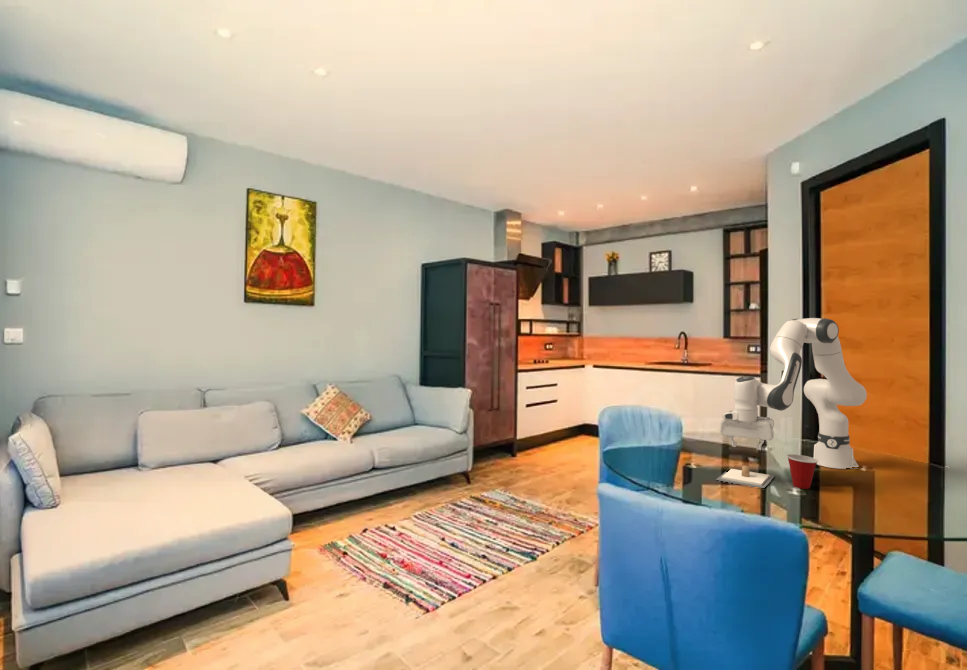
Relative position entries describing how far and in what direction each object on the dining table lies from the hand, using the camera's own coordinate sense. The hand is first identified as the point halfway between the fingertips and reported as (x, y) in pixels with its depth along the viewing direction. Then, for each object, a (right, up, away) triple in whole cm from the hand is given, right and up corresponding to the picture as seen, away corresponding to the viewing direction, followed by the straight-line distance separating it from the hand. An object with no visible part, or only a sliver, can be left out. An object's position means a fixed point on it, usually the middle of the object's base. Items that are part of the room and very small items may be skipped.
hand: (746, 448), depth 217 cm
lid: (0, -13, 0) cm, 13 cm away
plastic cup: (+17, -13, -10) cm, 24 cm away
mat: (0, -13, 0) cm, 13 cm away
